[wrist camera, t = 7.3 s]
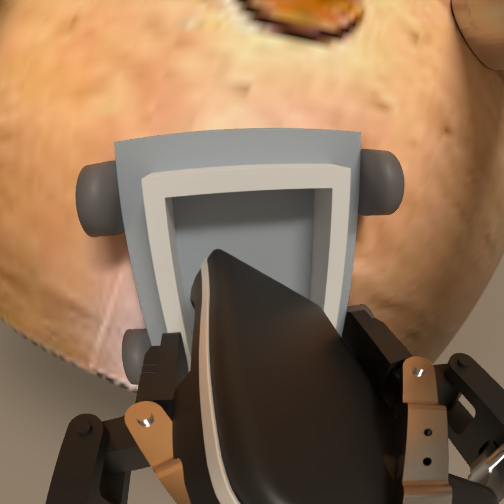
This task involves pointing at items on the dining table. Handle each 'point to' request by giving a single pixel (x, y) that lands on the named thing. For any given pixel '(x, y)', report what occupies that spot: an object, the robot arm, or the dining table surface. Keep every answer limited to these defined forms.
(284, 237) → the chassis
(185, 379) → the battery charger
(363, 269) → the dining table surface
